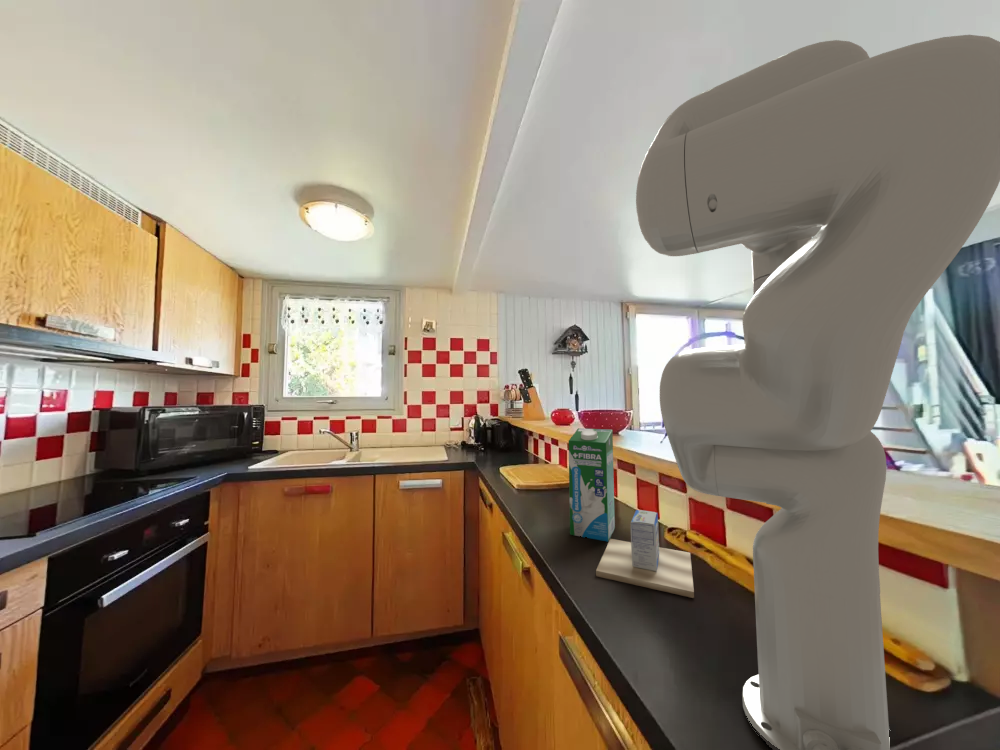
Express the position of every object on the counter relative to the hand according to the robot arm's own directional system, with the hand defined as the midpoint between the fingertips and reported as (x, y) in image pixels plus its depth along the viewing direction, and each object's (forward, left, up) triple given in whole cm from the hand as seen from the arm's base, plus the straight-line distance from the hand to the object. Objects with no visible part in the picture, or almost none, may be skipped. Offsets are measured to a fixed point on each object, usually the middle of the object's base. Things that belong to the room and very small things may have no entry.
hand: (788, 397), depth 54 cm
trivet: (+7, +22, -33) cm, 41 cm away
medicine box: (+7, +22, -32) cm, 40 cm away
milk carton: (+20, +35, -34) cm, 52 cm away
